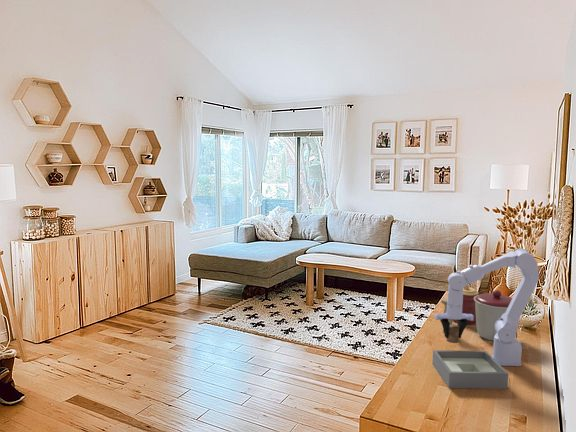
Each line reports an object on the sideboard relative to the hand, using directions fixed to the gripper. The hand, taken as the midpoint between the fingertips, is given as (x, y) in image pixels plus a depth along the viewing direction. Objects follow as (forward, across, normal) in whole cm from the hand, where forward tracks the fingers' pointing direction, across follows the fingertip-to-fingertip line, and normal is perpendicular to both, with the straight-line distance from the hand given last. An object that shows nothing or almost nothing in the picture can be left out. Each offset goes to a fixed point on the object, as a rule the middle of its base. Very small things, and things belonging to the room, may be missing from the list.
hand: (452, 337), depth 183 cm
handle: (+8, -6, -23) cm, 25 cm away
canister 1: (+8, -20, -40) cm, 45 cm away
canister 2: (+8, -25, -19) cm, 32 cm away
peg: (+2, 0, 0) cm, 2 cm away
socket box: (+8, 0, +17) cm, 19 cm away
